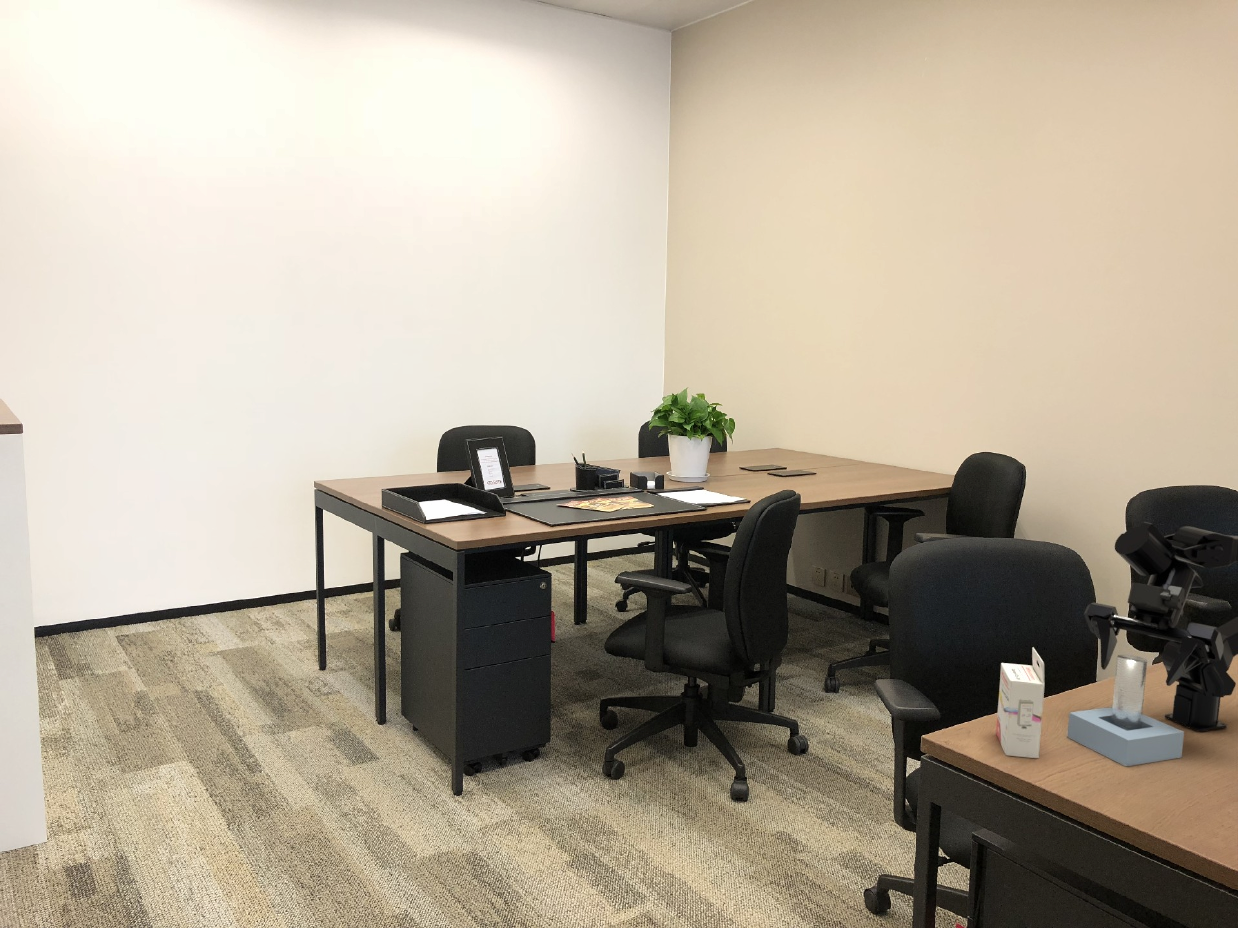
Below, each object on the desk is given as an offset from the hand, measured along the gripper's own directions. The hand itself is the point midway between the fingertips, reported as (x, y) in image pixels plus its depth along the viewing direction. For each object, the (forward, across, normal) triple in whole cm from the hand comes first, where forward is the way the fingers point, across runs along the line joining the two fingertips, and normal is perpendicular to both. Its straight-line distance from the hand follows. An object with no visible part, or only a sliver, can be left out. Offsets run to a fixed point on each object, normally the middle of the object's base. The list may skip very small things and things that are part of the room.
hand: (1134, 675), depth 146 cm
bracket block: (+9, 0, +7) cm, 11 cm away
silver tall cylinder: (+9, 0, +7) cm, 11 cm away
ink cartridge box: (+18, -11, -2) cm, 21 cm away
